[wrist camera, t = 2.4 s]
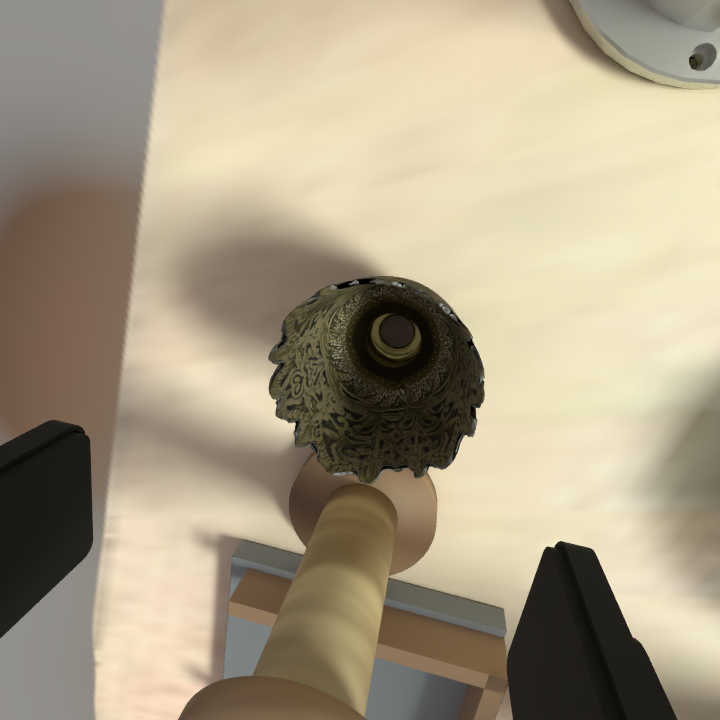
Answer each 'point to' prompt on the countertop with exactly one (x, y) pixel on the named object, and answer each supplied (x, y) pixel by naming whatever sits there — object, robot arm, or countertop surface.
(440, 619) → the wooden tray
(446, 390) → the cup
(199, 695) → the bobbin post
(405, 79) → the countertop surface
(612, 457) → the countertop surface
